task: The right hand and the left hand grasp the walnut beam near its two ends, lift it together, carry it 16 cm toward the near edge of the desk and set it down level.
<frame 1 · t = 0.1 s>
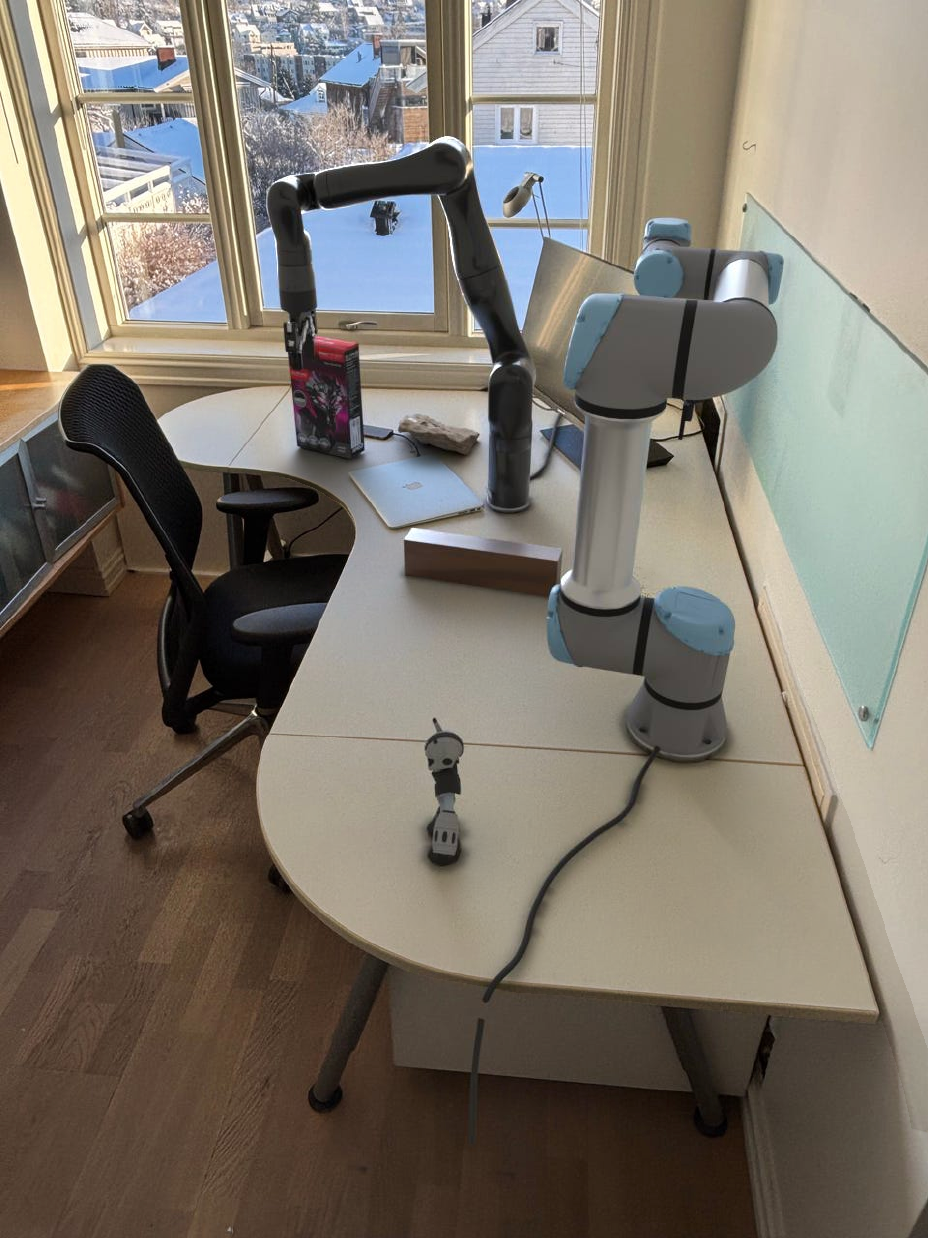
left hand: (304, 363, 197), 29 cm above the table, fingers open, 8 cm apart
right hand: (643, 432, 170), 28 cm above the table, fingers open, 13 cm apart
graphics card box: (330, 449, 231), on the table
robot: (444, 843, 124), on the table
beam: (481, 579, 180), on the table
stone: (435, 443, 235), on the table
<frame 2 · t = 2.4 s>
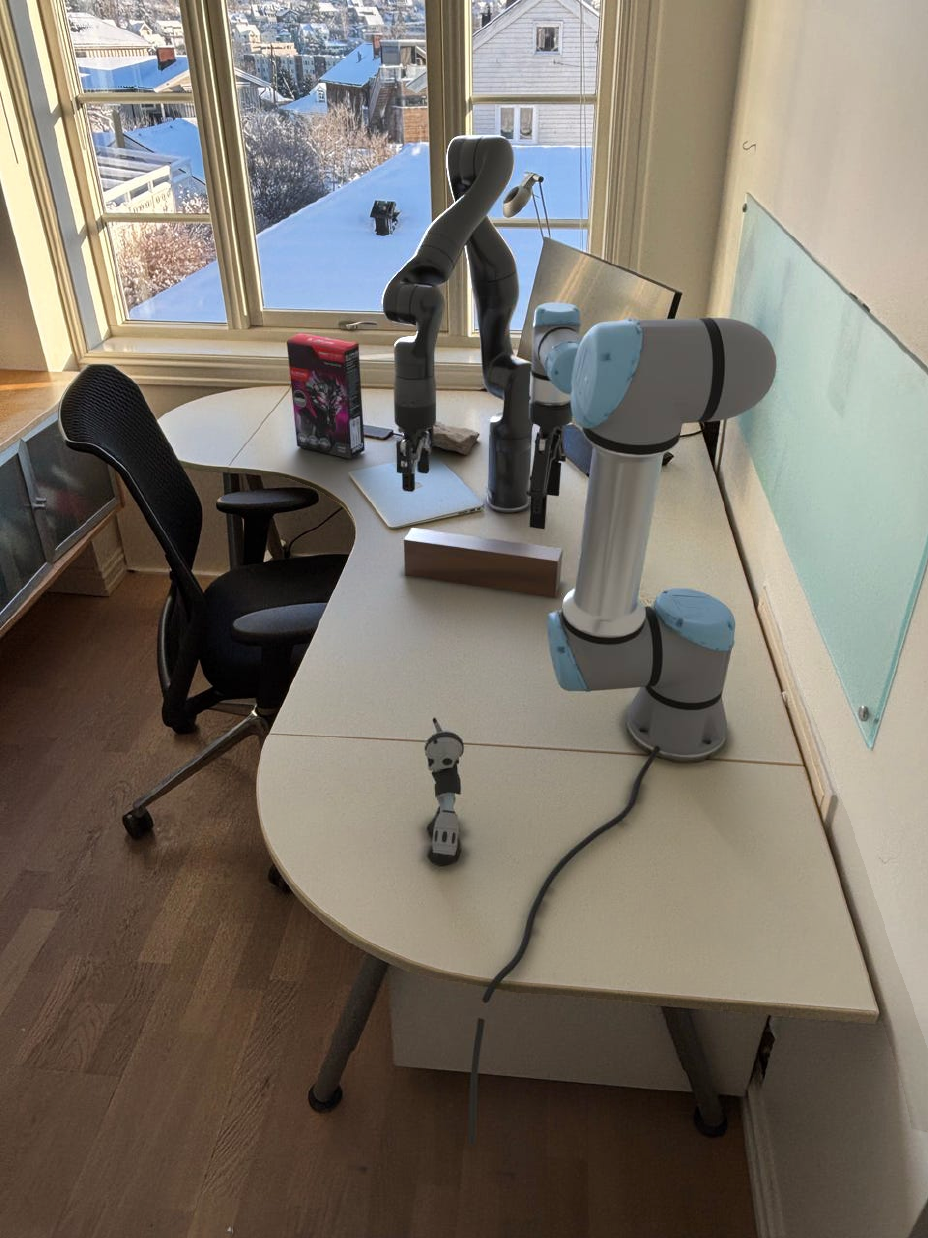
left hand: (416, 481, 173), 19 cm above the table, fingers open, 8 cm apart
right hand: (544, 510, 168), 17 cm above the table, fingers open, 13 cm apart
nothing on the table moved.
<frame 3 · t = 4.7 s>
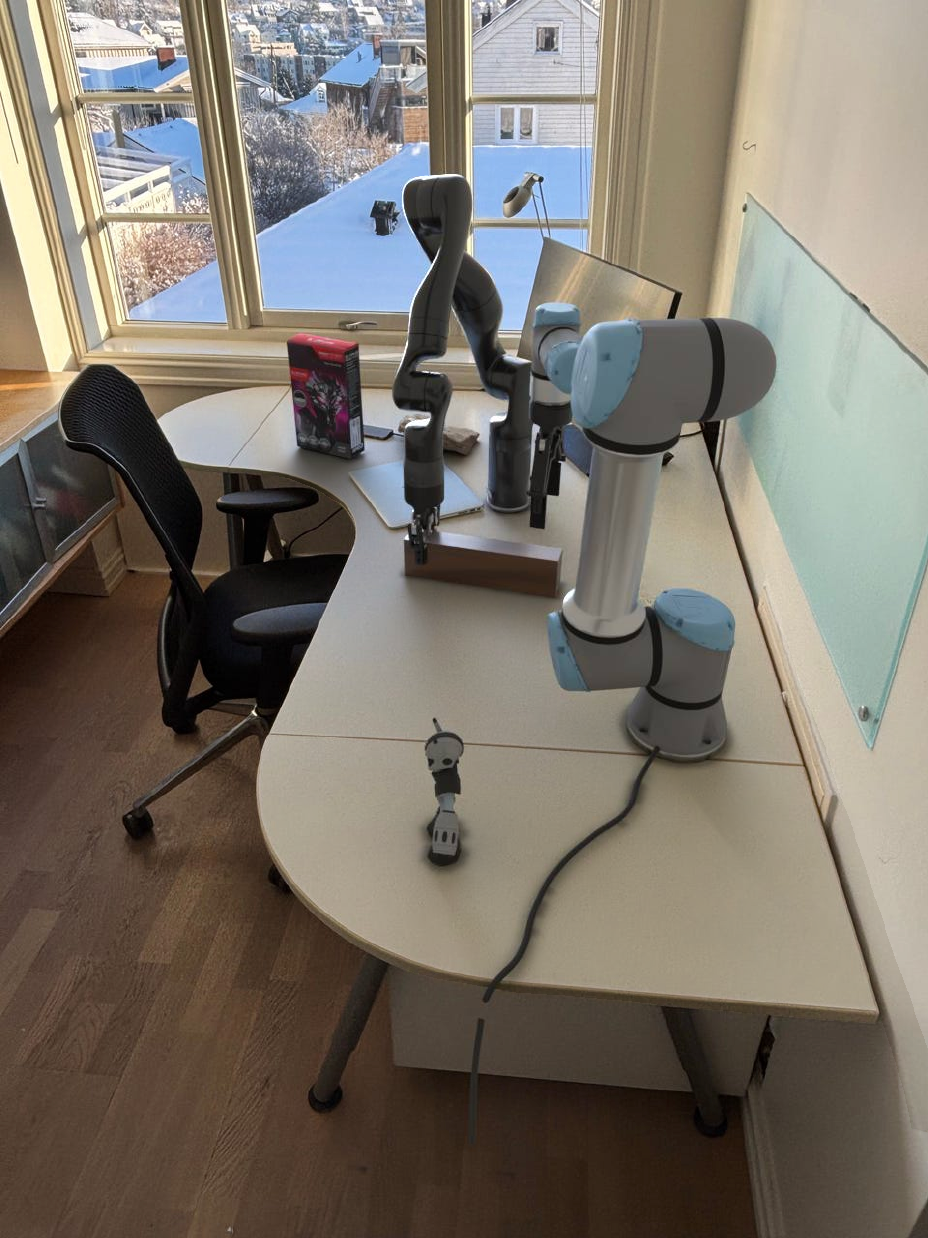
left hand: (425, 556, 181), 3 cm above the table, fingers closed on beam, 5 cm apart
right hand: (544, 510, 168), 17 cm above the table, fingers open, 13 cm apart
beam: (481, 579, 180), on the table, touching left hand
everything else where it was.
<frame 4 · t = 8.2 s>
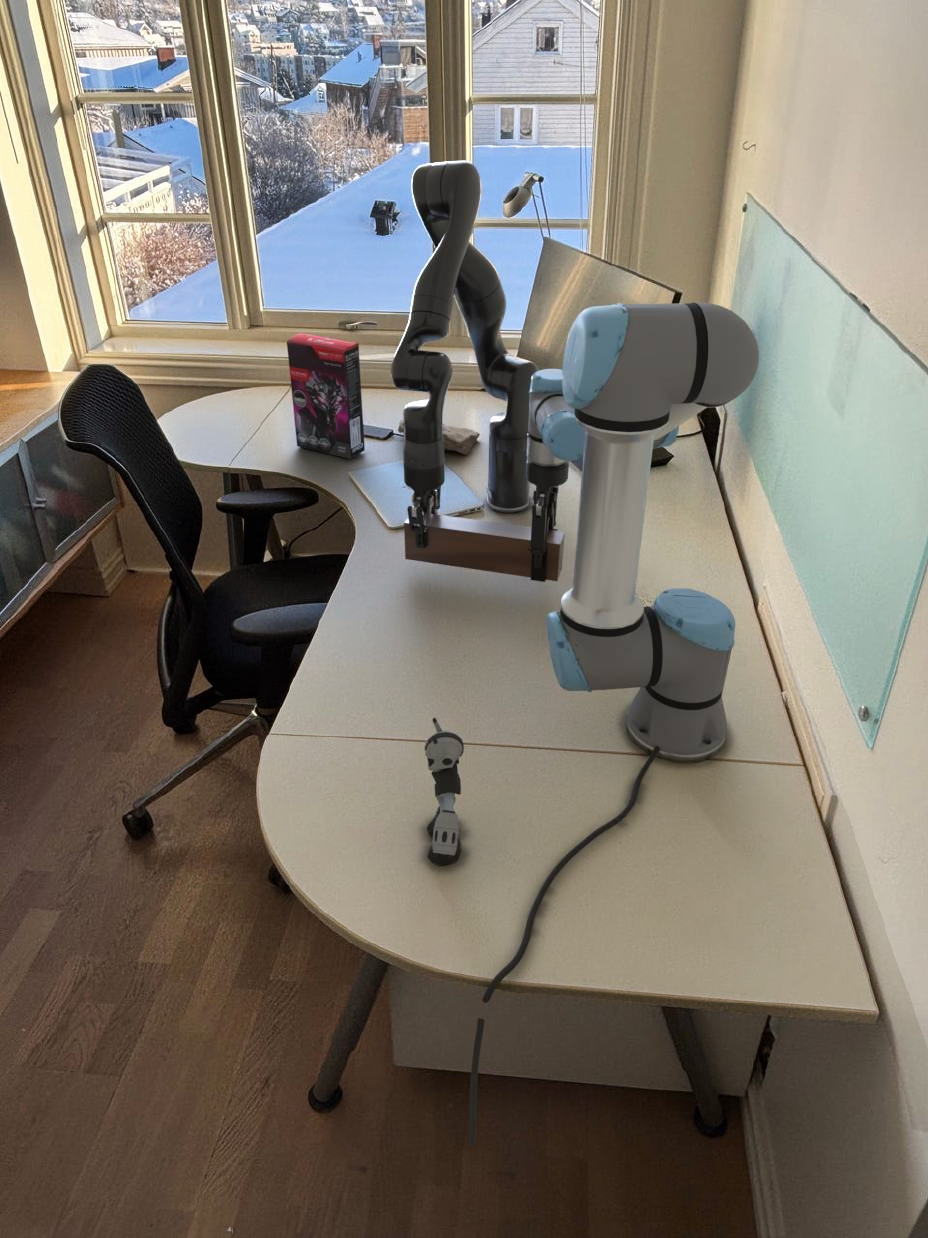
left hand: (426, 539, 178), 7 cm above the table, fingers closed on beam, 5 cm apart
right hand: (541, 572, 175), 4 cm above the table, fingers closed on beam, 5 cm apart
beam: (483, 563, 178), point 4 cm above the table, touching right hand, left hand
everything else where it was.
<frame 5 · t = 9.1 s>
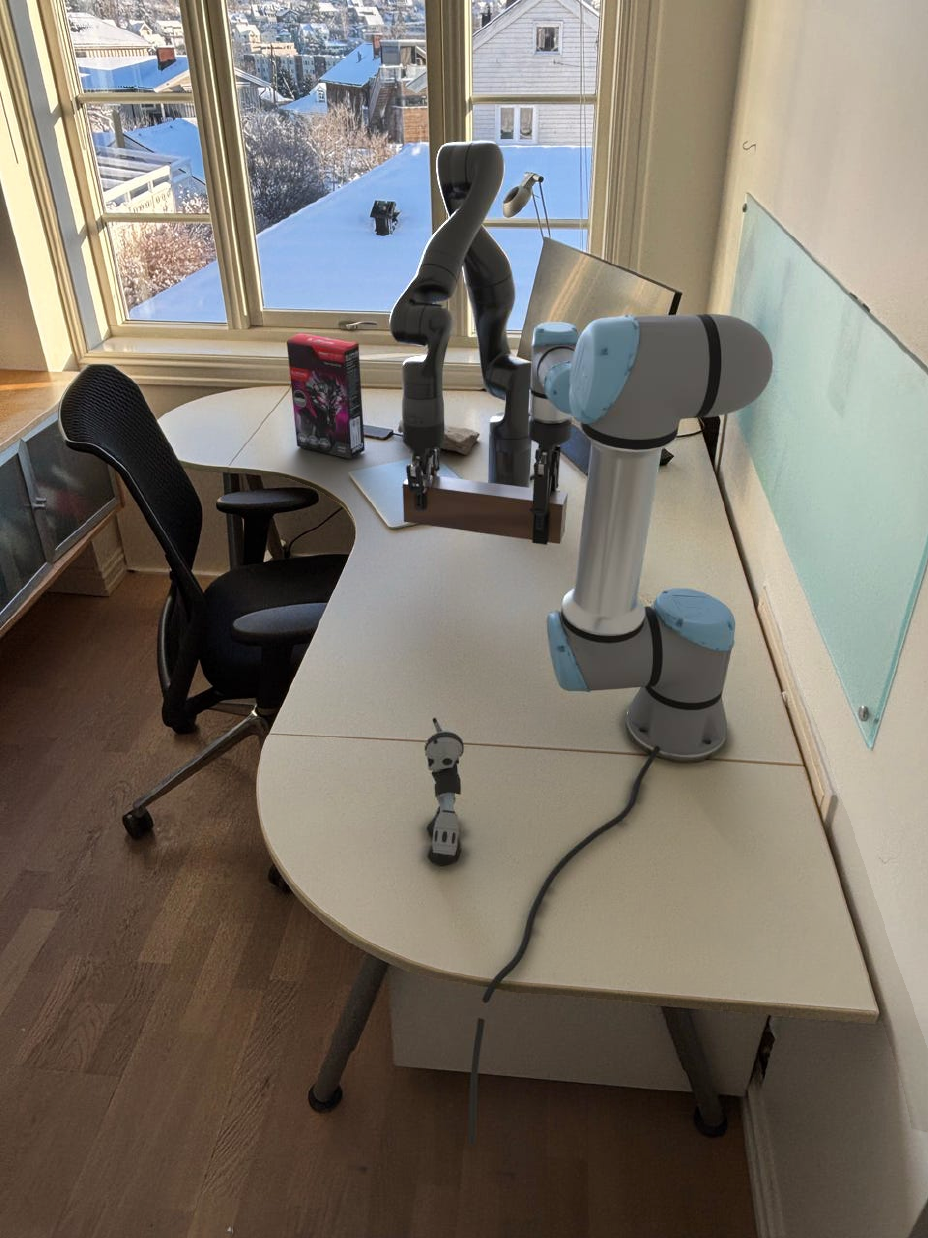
left hand: (425, 502, 174), 15 cm above the table, fingers closed on beam, 5 cm apart
right hand: (543, 535, 171), 12 cm above the table, fingers closed on beam, 5 cm apart
beam: (483, 526, 173), point 12 cm above the table, touching right hand, left hand
everything else where it was.
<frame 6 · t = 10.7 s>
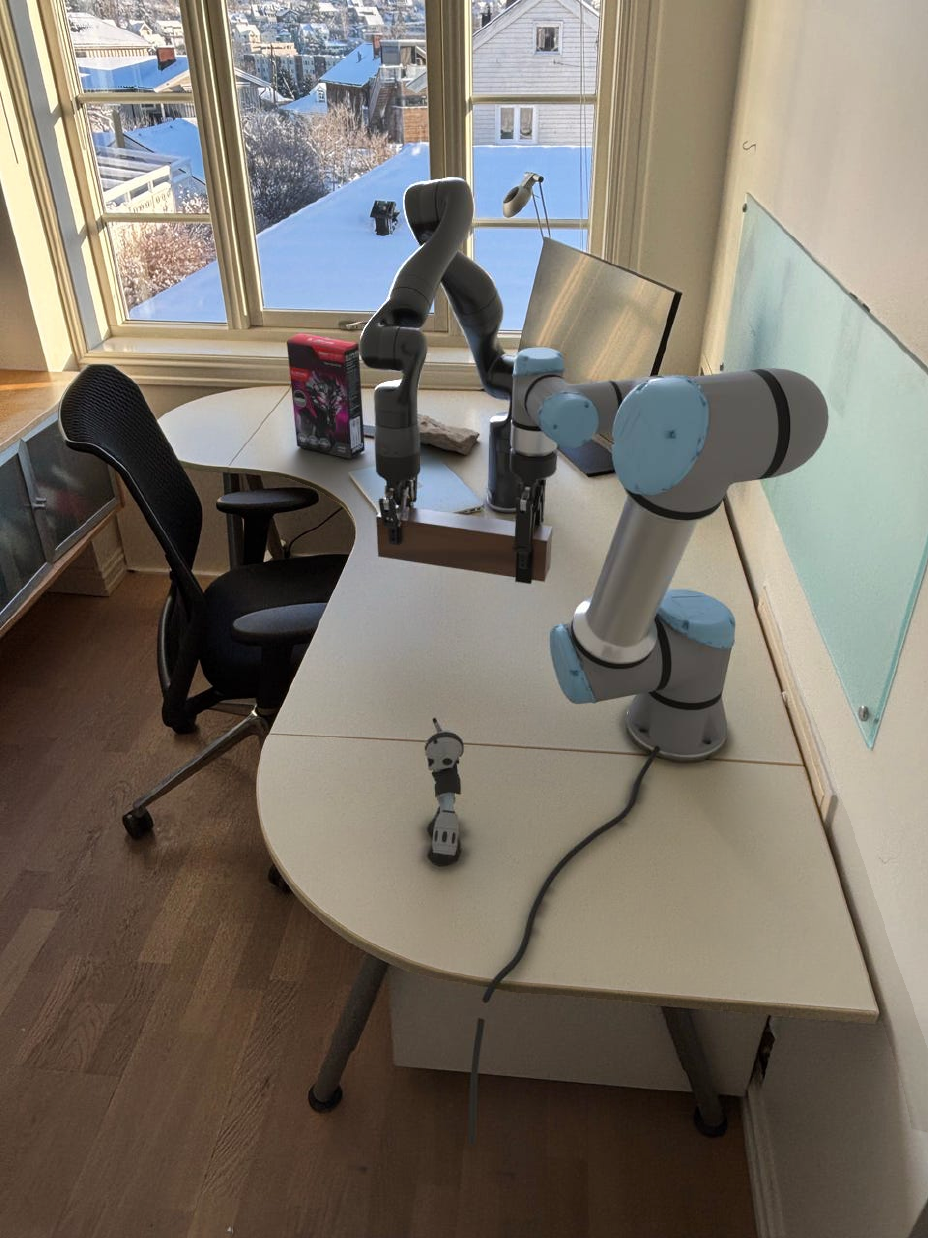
left hand: (400, 535, 162), 15 cm above the table, fingers closed on beam, 5 cm apart
right hand: (527, 573, 160), 12 cm above the table, fingers closed on beam, 5 cm apart
beam: (463, 562, 162), point 12 cm above the table, touching right hand, left hand
everything else where it was.
when the right hand's fingers open (1 cm above the table, at t = 13.4 s): beam moves 1 cm, on the table.
when the left hand's fingers open (4 cm above the table, at t = 13.6 s): beam stays where it is, on the table.
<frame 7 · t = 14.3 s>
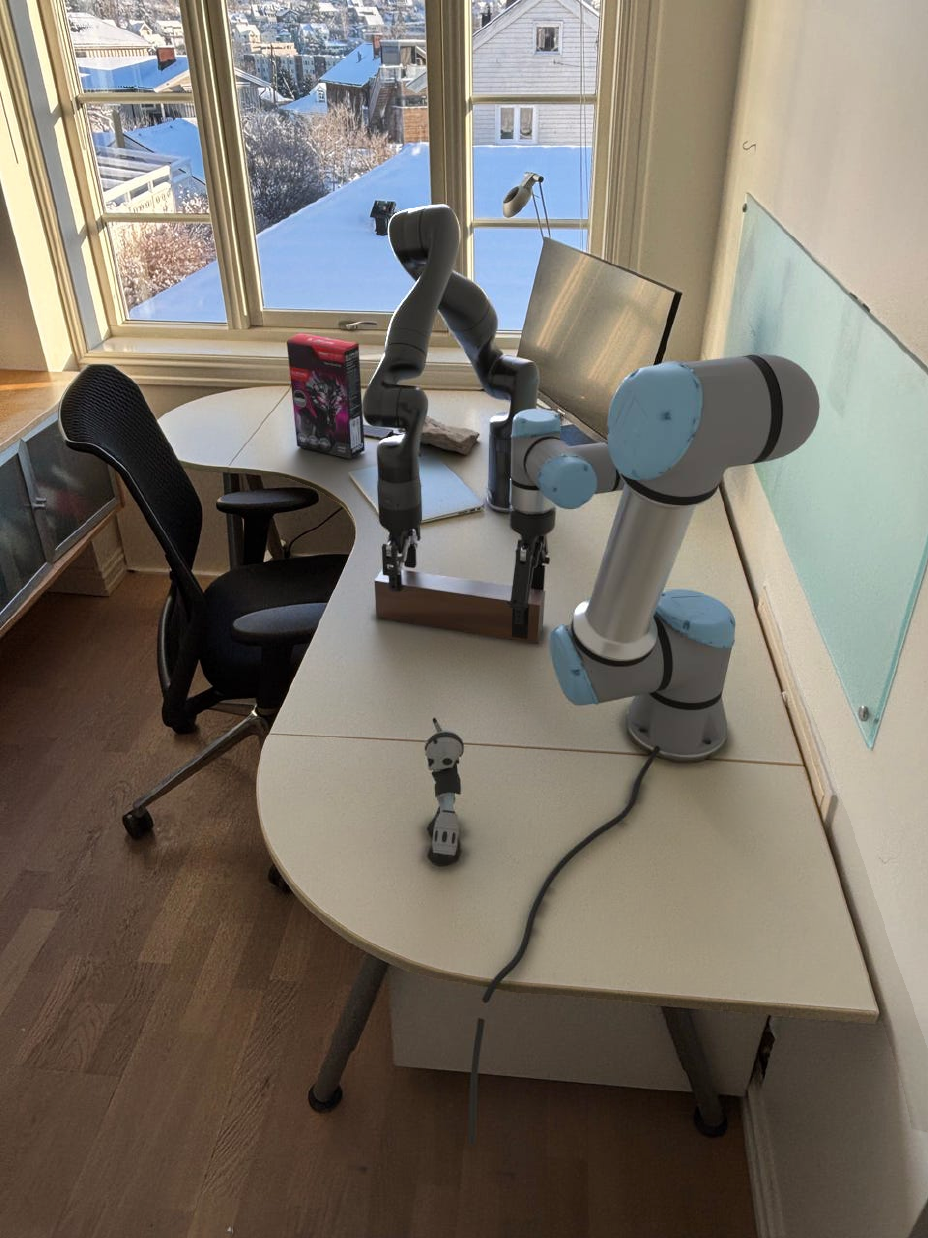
left hand: (403, 578, 167), 7 cm above the table, fingers open, 8 cm apart
right hand: (528, 616, 161), 5 cm above the table, fingers open, 13 cm apart
beam: (458, 623, 167), on the table, touching left hand
everything else where it was.
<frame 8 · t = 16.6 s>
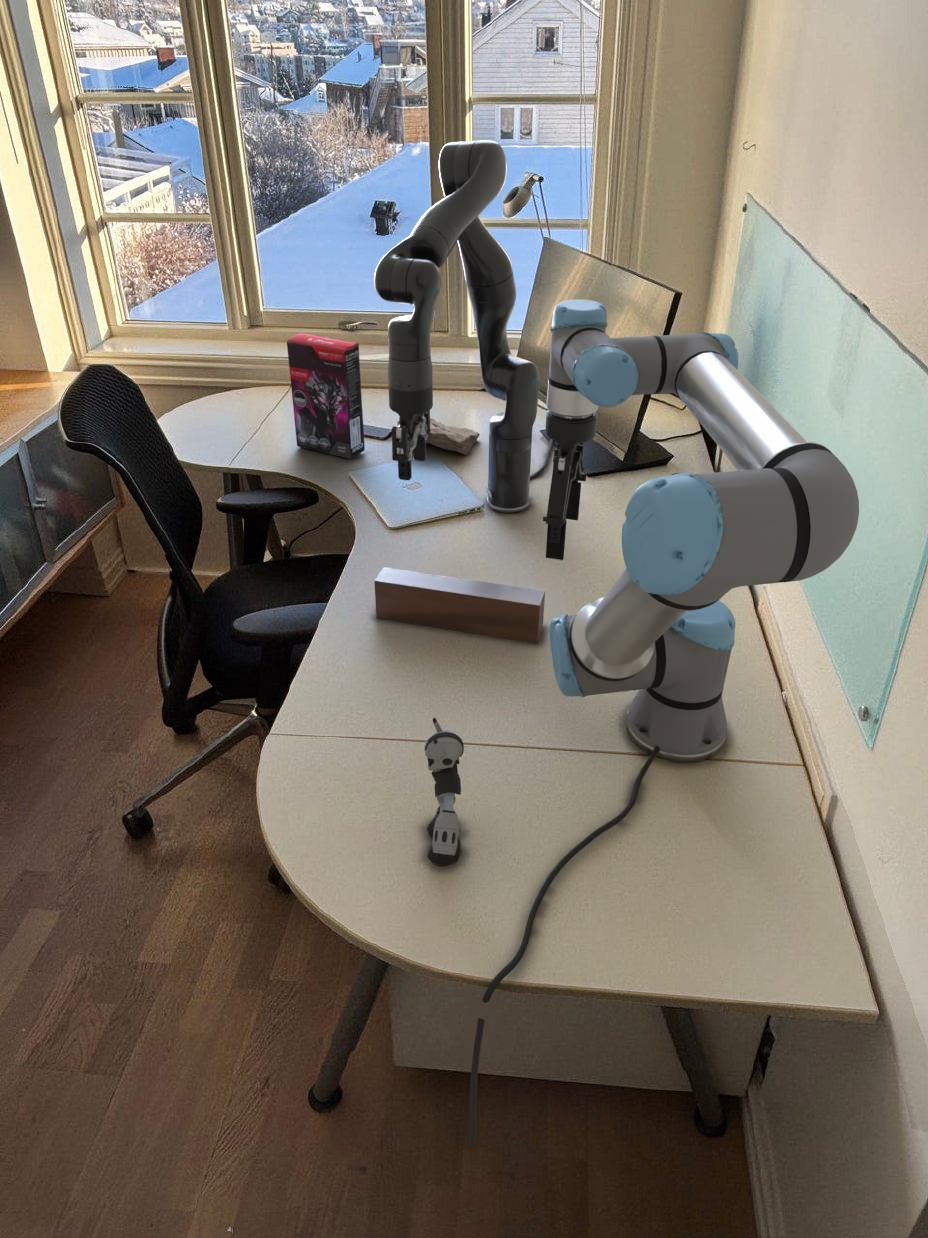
left hand: (412, 469, 165), 24 cm above the table, fingers open, 8 cm apart
right hand: (562, 537, 147), 23 cm above the table, fingers open, 13 cm apart
beam: (458, 623, 167), on the table
everything else where it was.
at the end: beam inside the target area (0.4 cm from its centre), on the table; both hands held the beam at the same time; beam never tilted more than 7° during the clip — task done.
